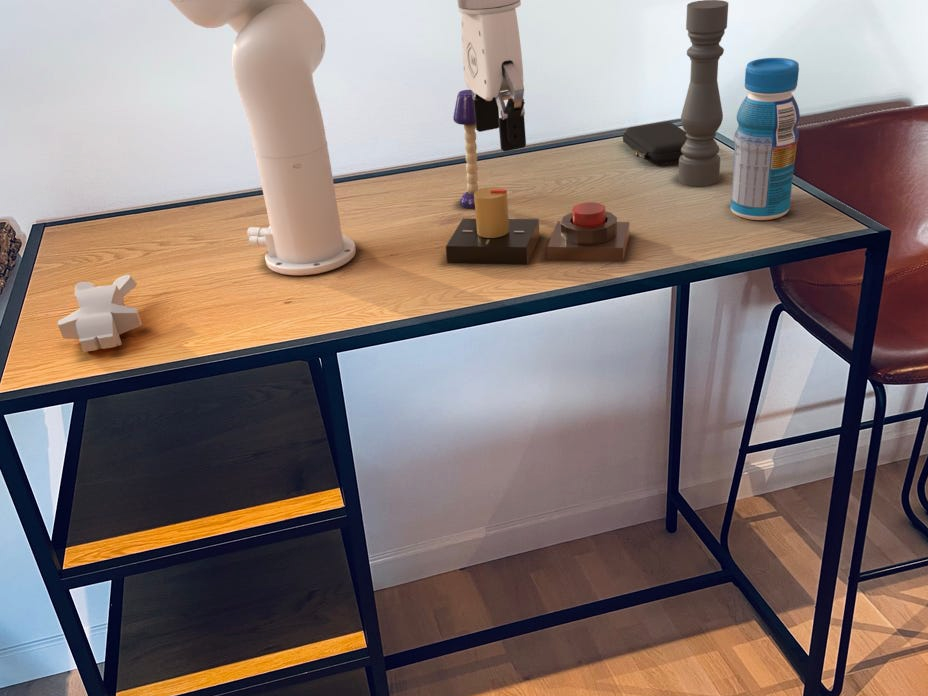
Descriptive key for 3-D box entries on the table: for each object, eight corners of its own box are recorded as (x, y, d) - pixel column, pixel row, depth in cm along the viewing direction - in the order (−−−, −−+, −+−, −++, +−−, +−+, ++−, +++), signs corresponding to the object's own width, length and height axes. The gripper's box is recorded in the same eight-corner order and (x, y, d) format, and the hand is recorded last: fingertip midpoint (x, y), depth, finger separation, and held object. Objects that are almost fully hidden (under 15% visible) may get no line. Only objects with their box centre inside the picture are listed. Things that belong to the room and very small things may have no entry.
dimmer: (447, 263, 134) (445, 245, 132) (464, 234, 142) (462, 217, 140) (527, 265, 131) (526, 246, 130) (539, 235, 139) (539, 217, 138)
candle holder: (688, 189, 150) (697, 10, 135) (671, 176, 155) (677, 3, 140) (726, 182, 151) (738, 4, 136) (707, 170, 156) (717, -3, 141)
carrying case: (612, 144, 170) (645, 170, 158) (613, 126, 168) (645, 151, 156) (671, 135, 171) (707, 160, 159) (671, 117, 169) (708, 141, 158)
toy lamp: (492, 198, 153) (484, 86, 143) (489, 209, 149) (481, 95, 139) (461, 199, 153) (452, 88, 144) (458, 210, 150) (448, 97, 140)
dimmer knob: (474, 238, 134) (471, 196, 130) (479, 225, 137) (476, 185, 134) (506, 238, 133) (504, 196, 129) (511, 225, 136) (508, 184, 133)
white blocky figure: (50, 334, 116) (61, 270, 127) (64, 369, 119) (74, 304, 130) (132, 320, 117) (136, 259, 128) (144, 356, 120) (147, 293, 131)
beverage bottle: (727, 221, 138) (738, 72, 127) (730, 199, 145) (740, 56, 133) (790, 222, 136) (807, 70, 125) (790, 200, 143) (805, 54, 131)
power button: (570, 229, 131) (569, 214, 130) (574, 216, 135) (574, 201, 133) (603, 229, 130) (603, 214, 129) (607, 216, 134) (607, 202, 132)
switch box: (547, 260, 132) (546, 232, 130) (557, 234, 139) (557, 207, 137) (622, 262, 130) (623, 233, 127) (629, 235, 137) (629, 207, 135)
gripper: (437, -11, 124) (453, 127, 134) (482, 10, 110) (495, 163, 120) (494, -20, 125) (505, 117, 135) (544, 0, 112) (552, 151, 121)
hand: (500, 138), depth 127 cm, fingers open, 9 cm apart
